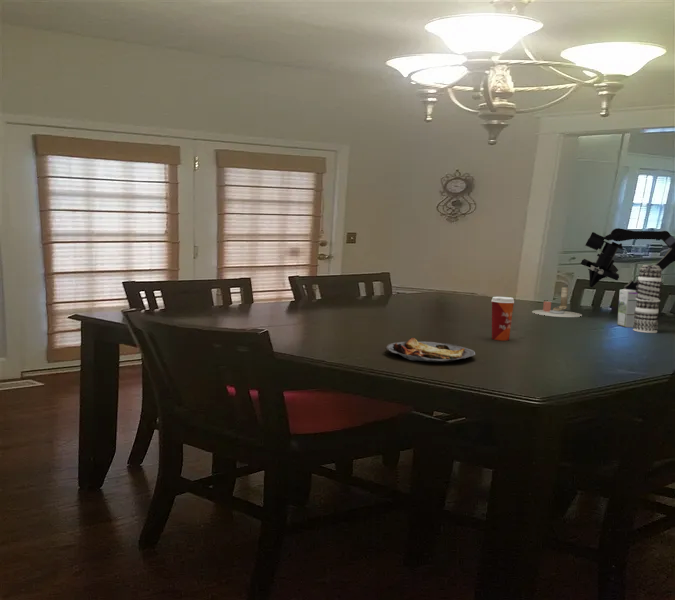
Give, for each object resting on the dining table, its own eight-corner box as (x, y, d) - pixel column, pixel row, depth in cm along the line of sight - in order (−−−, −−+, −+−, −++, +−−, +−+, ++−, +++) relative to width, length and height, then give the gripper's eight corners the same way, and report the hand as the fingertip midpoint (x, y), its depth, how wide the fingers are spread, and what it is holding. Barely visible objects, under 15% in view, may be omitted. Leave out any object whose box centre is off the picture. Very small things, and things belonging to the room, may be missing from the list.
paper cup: (505, 342, 214) (508, 299, 212) (484, 338, 219) (487, 297, 217) (516, 339, 220) (519, 298, 218) (495, 336, 225) (498, 295, 223)
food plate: (370, 354, 186) (370, 342, 186) (412, 344, 205) (413, 333, 204) (448, 371, 171) (449, 358, 171) (487, 359, 190) (488, 347, 189)
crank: (559, 310, 288) (561, 289, 287) (553, 310, 290) (554, 288, 289) (567, 308, 298) (569, 287, 297) (561, 307, 300) (562, 287, 299)
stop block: (550, 312, 295) (551, 302, 295) (544, 311, 295) (545, 302, 295) (548, 311, 298) (549, 301, 298) (543, 311, 298) (543, 301, 298)
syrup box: (638, 327, 258) (641, 290, 256) (624, 327, 257) (627, 290, 255) (629, 325, 263) (632, 289, 262) (616, 324, 262) (619, 288, 261)
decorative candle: (638, 332, 244) (644, 265, 241) (627, 328, 254) (633, 263, 251) (662, 333, 245) (669, 266, 242) (650, 329, 254) (656, 264, 251)
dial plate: (589, 318, 280) (589, 315, 279) (540, 316, 280) (540, 313, 280) (572, 311, 300) (572, 308, 300) (526, 309, 301) (526, 306, 300)
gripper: (634, 266, 286) (617, 298, 289) (604, 253, 302) (588, 284, 305) (617, 259, 280) (600, 292, 284) (587, 246, 296) (572, 278, 300)
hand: (590, 286), depth 293 cm, fingers closed
